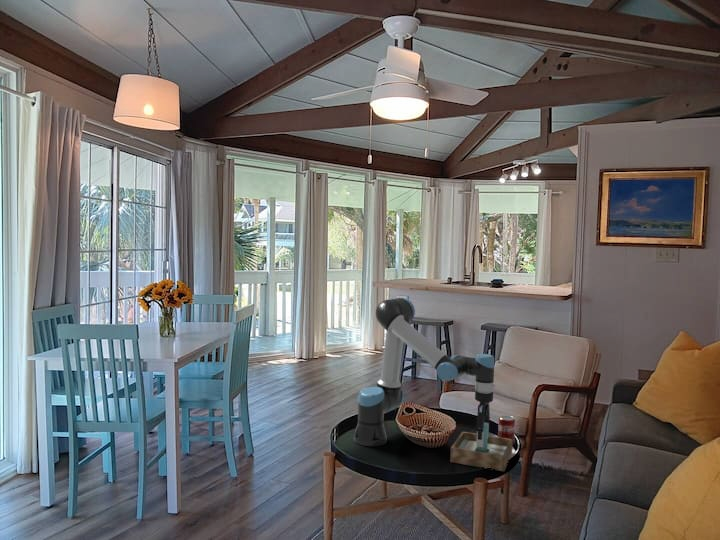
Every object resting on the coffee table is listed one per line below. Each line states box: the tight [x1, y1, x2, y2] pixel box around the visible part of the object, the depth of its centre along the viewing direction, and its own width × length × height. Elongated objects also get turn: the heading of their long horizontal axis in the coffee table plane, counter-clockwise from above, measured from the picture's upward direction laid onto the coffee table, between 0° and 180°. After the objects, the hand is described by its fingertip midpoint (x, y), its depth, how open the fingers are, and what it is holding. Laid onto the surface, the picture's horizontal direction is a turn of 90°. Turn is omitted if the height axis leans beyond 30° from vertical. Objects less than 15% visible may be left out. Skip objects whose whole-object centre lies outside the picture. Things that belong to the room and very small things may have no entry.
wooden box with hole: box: [449, 431, 513, 472], centre depth 237 cm, size 22×22×6 cm
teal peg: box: [477, 424, 489, 453], centre depth 237 cm, size 4×4×14 cm
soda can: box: [497, 415, 516, 446], centre depth 254 cm, size 7×7×12 cm
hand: (482, 442), depth 237 cm, fingers open, 11 cm apart
